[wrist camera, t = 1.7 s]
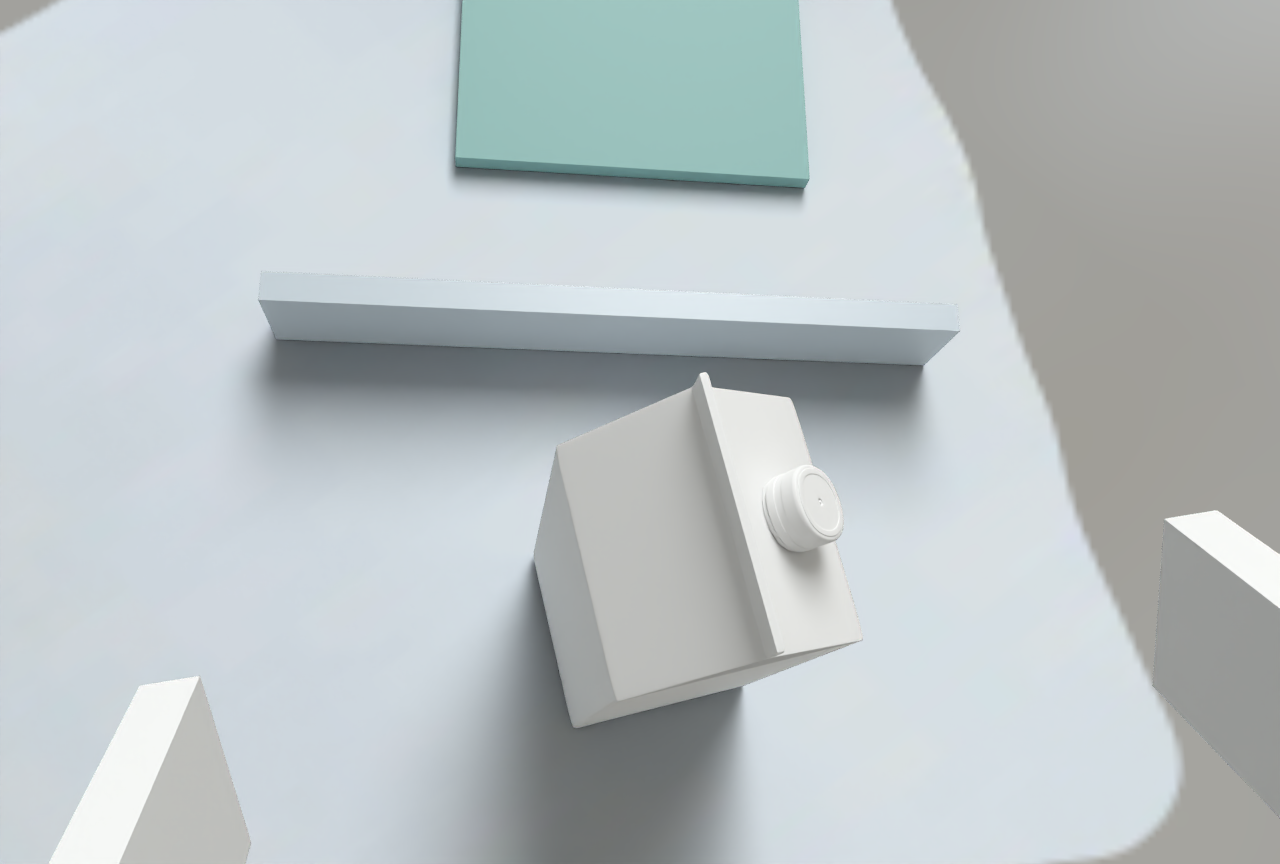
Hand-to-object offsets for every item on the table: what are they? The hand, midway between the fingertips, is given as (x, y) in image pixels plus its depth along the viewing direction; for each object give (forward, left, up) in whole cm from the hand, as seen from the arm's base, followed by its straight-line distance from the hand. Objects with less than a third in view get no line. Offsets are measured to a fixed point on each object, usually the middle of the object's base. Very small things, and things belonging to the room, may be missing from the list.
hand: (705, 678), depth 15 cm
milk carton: (+3, +5, -30) cm, 30 cm away
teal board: (+3, +33, -29) cm, 44 cm away
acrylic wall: (+2, +17, -29) cm, 34 cm away
